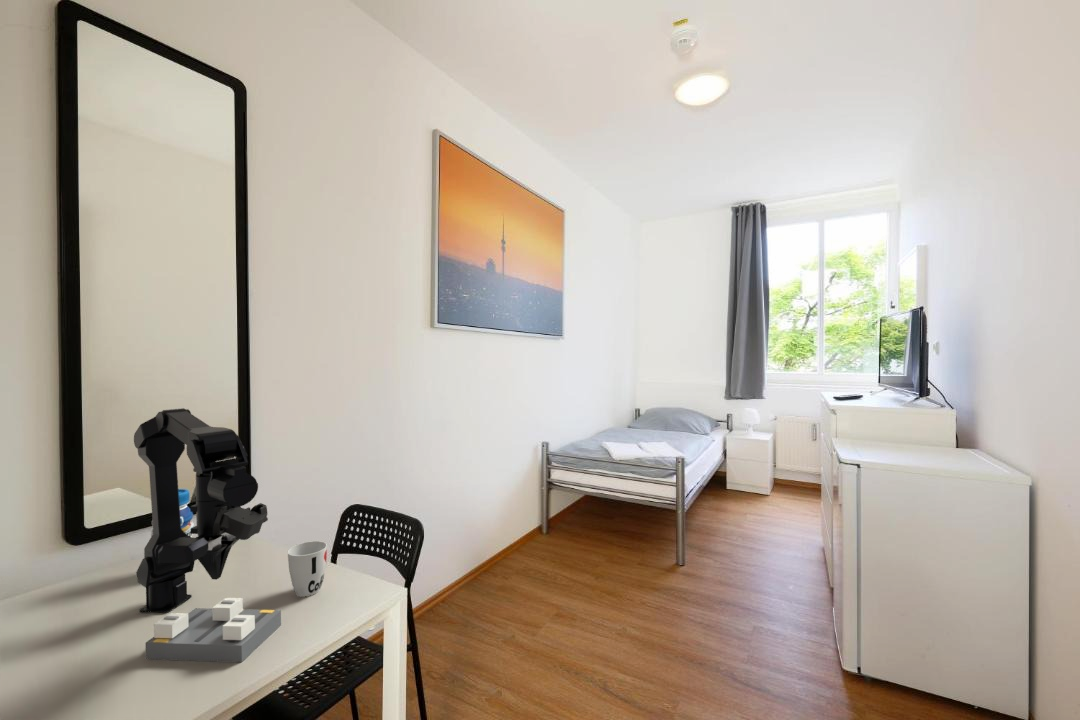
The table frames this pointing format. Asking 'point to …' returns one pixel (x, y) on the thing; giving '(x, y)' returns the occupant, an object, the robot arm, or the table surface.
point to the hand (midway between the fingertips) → (216, 578)
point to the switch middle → (227, 609)
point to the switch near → (171, 625)
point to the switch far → (238, 627)
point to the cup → (307, 567)
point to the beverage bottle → (184, 512)
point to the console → (213, 638)
